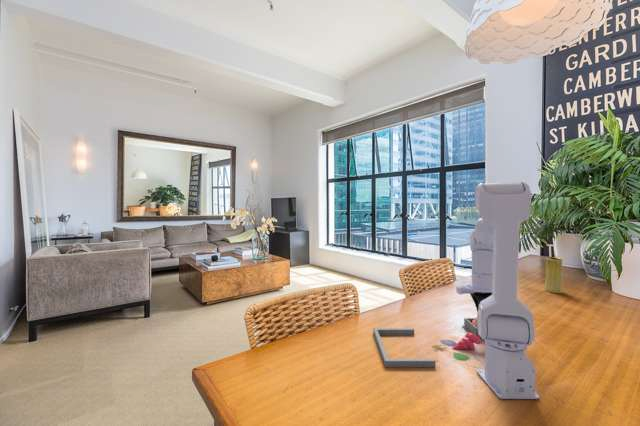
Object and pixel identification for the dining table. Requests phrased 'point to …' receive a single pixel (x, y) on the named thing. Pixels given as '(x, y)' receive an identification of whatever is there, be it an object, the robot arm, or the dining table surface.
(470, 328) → the dome base
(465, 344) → the toy pieces
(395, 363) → the frame
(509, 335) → the robot arm
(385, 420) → the dining table surface
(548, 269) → the vase
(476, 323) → the dome
